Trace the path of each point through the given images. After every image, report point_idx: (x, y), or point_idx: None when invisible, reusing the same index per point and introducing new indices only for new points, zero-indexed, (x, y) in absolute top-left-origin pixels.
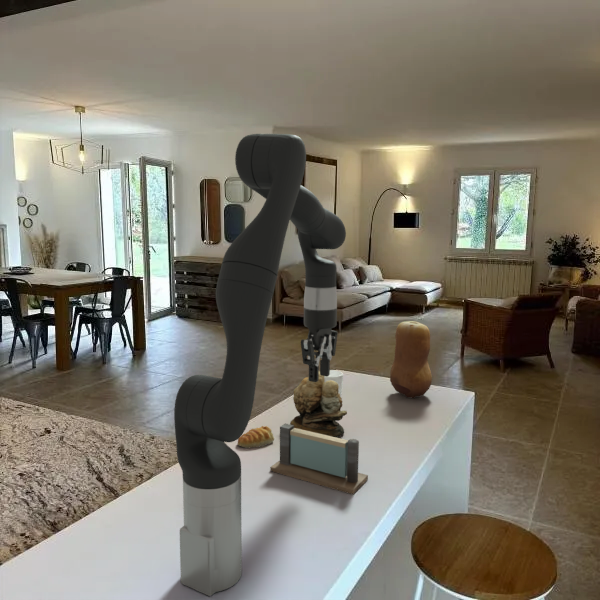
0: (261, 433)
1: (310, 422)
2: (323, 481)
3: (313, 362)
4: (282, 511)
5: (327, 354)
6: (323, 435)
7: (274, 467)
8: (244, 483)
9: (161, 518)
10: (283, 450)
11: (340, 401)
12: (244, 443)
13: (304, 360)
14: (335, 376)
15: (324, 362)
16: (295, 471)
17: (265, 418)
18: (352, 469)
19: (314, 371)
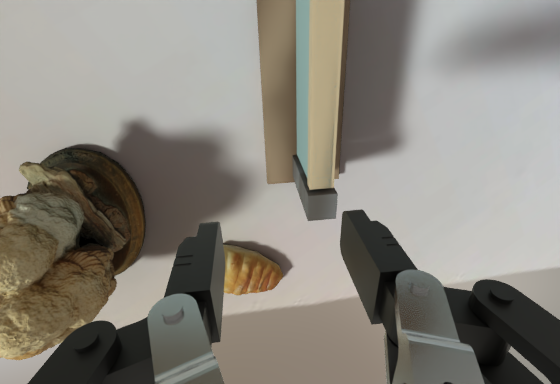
0: (244, 269)
1: (116, 230)
2: (346, 42)
3: (514, 297)
4: (473, 59)
5: (210, 350)
6: (317, 89)
7: (336, 170)
8: (399, 181)
9: (537, 206)
10: None
11: (8, 204)
12: (280, 270)
13: (512, 356)
14: None
15: (216, 304)
16: None
17: (134, 318)
18: None
19: (403, 255)
